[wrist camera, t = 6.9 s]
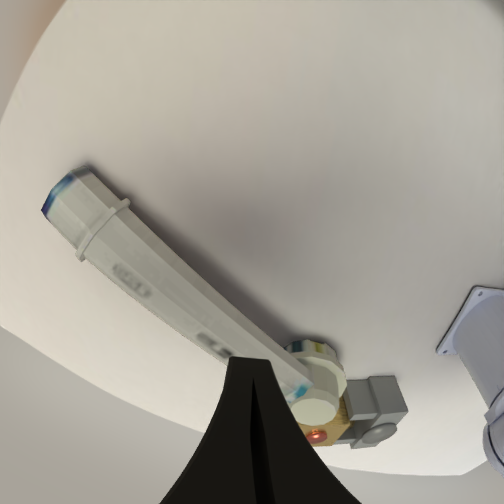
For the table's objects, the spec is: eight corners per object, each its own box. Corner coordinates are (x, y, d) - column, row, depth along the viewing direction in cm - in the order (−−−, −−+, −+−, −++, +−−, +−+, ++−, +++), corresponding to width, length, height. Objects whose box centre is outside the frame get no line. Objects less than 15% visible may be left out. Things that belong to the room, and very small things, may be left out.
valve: (354, 386, 28) (365, 426, 24) (337, 410, 30) (345, 447, 26) (276, 383, 27) (280, 427, 23) (264, 408, 29) (267, 448, 25)
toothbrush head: (62, 164, 13) (368, 423, 19) (120, 148, 19) (354, 363, 25) (27, 234, 15) (311, 451, 21) (83, 202, 21) (308, 392, 27)
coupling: (396, 375, 27) (412, 414, 23) (368, 413, 31) (378, 448, 26) (346, 377, 27) (358, 420, 22) (322, 416, 30) (329, 454, 26)
